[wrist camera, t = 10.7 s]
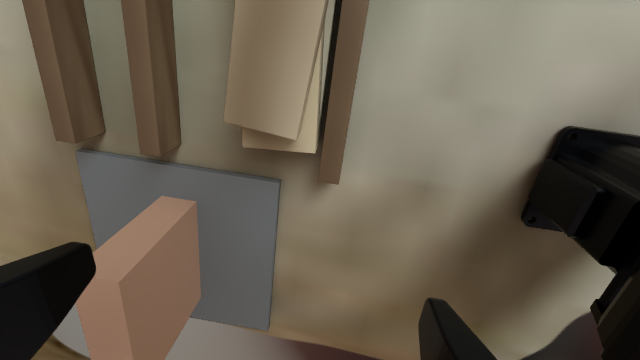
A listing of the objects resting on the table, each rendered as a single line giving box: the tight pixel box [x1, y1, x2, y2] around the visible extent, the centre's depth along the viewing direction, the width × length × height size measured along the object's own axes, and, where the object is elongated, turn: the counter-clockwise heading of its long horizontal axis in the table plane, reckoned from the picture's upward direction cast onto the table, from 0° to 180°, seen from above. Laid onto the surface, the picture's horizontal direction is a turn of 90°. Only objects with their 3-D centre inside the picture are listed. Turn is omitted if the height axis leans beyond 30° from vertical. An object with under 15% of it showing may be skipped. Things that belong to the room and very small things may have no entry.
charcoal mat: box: [75, 149, 281, 331], centre depth 24 cm, size 14×14×1 cm
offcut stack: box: [223, 0, 337, 153], centre depth 15 cm, size 5×12×4 cm, turn 173°
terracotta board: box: [76, 196, 201, 360], centre depth 20 cm, size 2×9×8 cm, turn 173°
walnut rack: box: [22, 0, 369, 185], centre depth 16 cm, size 17×15×2 cm
